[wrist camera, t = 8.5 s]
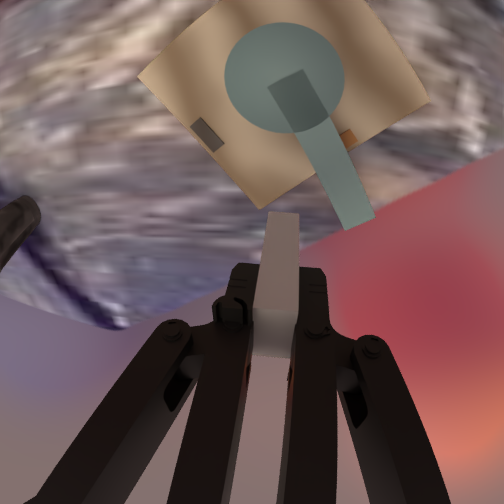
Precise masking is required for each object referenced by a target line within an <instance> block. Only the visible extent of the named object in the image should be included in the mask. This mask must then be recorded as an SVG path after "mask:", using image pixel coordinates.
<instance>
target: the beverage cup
mask: <svg viewBox="0 0 504 504" xmlns="http://www.w3.org/2000/svg"><path fill="white" fill-rule="evenodd" d="M40 219H41V214H40V210H39V208H38V206H37V204H36V203H35V201H34V200H33V199H31V198H30V197H28V196H22V197H20V198H19V199H17V200H14V201H13V202H11V203H10V204H8V205H7V206H5V207H4V208H2V209H1V210H0V272H1V270H2V269H3V267H4V266H5V265H6V263H7V262H8V261H9V260H10V258H11V257H12V256H13V255H14V253H15V252H16V251H17V250H18V248H19V247H20V246H21V245H22V243H23V242H24V241H25V240H26V239H27V237H28V236H29V235H30V234H31V233H32V231H33V230H34V228H35V227H36V226H37V225H38V224H39V222H40Z"/></svg>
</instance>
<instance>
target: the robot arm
mask: <svg viewBox="0 0 504 504" xmlns="http://www.w3.org/2000/svg"><path fill="white" fill-rule="evenodd" d="M212 312H213V320H214V321H212V322H210V323H208V324H205V325H200V326H193V327H190V326H189V325H188V323H186V322H184V321H183V320H179V319H171V320H167V321H164V322H162V323H161V324H160V325H159V326H158V327H157V328H156V329H155V330H154V332H153V333H152V334H151V336H150V337H149V338H148V340H147V341H146V342H145V344H144V345H143V346H142V348H141V349H140V350H139V352H138V353H137V354H136V356H135V357H134V358H133V360H132V361H131V362H130V364H129V365H128V366H127V368H126V369H125V370H124V372H123V373H122V374H121V376H120V377H119V378H118V380H117V381H116V382H115V384H114V385H113V387H112V388H111V389H110V391H109V392H108V393H107V395H106V396H105V398H104V399H103V400H102V402H101V403H100V405H99V406H98V407H97V409H96V410H95V411H94V413H93V414H92V416H91V417H90V418H89V420H88V421H87V422H86V424H85V425H84V427H83V428H82V430H81V431H80V432H79V434H78V435H77V437H76V438H75V440H74V441H73V442H72V444H71V445H70V447H69V448H68V449H67V451H66V452H65V454H64V455H63V457H62V458H61V460H60V461H59V462H58V464H57V465H56V467H55V468H54V470H53V471H52V473H51V474H50V476H49V477H48V479H47V480H46V482H45V483H44V484H43V486H42V487H41V489H40V491H39V492H38V494H37V495H36V496H35V497H33V498H32V499H30V500H28V501H27V502H25V503H24V504H124V503H125V501H126V500H127V498H128V496H129V495H130V493H131V491H132V490H133V488H134V486H135V485H136V483H137V482H138V480H139V478H140V476H141V475H142V473H143V472H144V470H145V469H146V467H147V465H148V463H149V462H150V460H151V459H152V457H153V455H154V453H155V452H156V450H157V449H158V447H159V445H160V444H161V442H162V440H163V439H164V437H165V435H166V434H167V432H168V430H169V429H170V427H171V425H172V424H173V422H174V420H175V418H176V417H177V415H178V413H179V412H180V410H181V408H182V407H183V405H184V403H185V402H186V400H187V398H188V396H189V395H190V393H191V391H192V389H193V388H194V386H195V384H196V383H197V386H196V390H195V394H194V398H193V401H192V405H191V409H190V413H189V416H188V420H187V425H186V428H185V432H184V436H183V440H182V444H181V448H180V452H179V456H178V460H177V463H176V467H175V472H174V475H173V480H172V484H171V488H170V492H169V496H168V500H167V504H229V501H230V495H231V489H232V483H233V477H234V471H235V465H236V459H237V453H238V447H239V441H240V435H241V429H242V422H243V416H244V410H245V403H246V397H247V390H248V384H249V378H250V371H251V358H252V355H257V356H267V357H278V358H279V357H280V358H290V367H289V372H288V378H287V381H288V388H287V401H286V414H285V425H284V436H283V448H282V457H281V467H280V476H279V485H278V494H277V502H276V504H336V489H337V391H338V394H339V398H340V401H341V404H342V407H343V411H344V414H345V417H346V420H347V424H348V427H349V430H350V434H351V437H352V441H353V444H354V447H355V451H356V454H357V458H358V461H359V465H360V469H361V472H362V476H363V479H364V483H365V487H366V490H367V494H368V497H369V502H370V504H451V502H450V499H449V496H448V493H447V490H446V487H445V484H444V481H443V478H442V475H441V472H440V469H439V467H438V463H437V460H436V458H435V455H434V452H433V450H432V447H431V444H430V442H429V439H428V437H427V434H426V431H425V429H424V426H423V424H422V421H421V419H420V416H419V414H418V412H417V409H416V407H415V404H414V402H413V400H412V397H411V395H410V393H409V390H408V388H407V386H406V384H405V381H404V379H403V377H402V374H401V372H400V370H399V368H398V366H397V363H396V361H395V359H394V357H393V355H392V353H391V350H390V348H389V346H388V345H387V343H386V342H385V341H384V340H383V339H381V338H379V337H378V336H374V335H364V336H361V337H359V338H358V340H354V339H350V338H347V337H345V336H342V335H340V334H339V333H337V332H336V331H335V330H334V329H333V327H332V326H331V324H330V320H329V306H328V294H327V283H326V276H325V274H324V273H323V271H322V270H321V269H320V268H309V267H299V214H297V213H284V212H271V211H269V213H268V219H267V225H266V231H265V238H264V244H263V250H262V256H261V262H260V264H249V263H238V264H237V265H236V266H235V267H234V268H233V269H232V272H231V275H230V280H229V283H228V287H227V290H226V294H225V296H222V297H219V298H218V299H217V300H216V301H215V302H214V303H213V305H212ZM197 381H198V382H197Z"/></svg>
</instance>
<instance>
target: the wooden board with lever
mask: <svg viewBox="0 0 504 504" xmlns="http://www.w3.org/2000/svg"><path fill="white" fill-rule="evenodd" d="M279 22H286V23H295V24H299V25H303V26H305V27H308V28H310V29H312V30H314V31H316V32H317V33H319V34H320V35H322V36H323V37H324V38H325V39H327V40H328V41H329V43H330V44H331V45H332V46H333V47H334V49H335V50H336V52H337V53H338V55H339V57H340V59H341V62H342V65H343V70H344V79H345V82H344V90H343V94H342V97H341V99H340V102H339V104H338V105H337V107H336V109H335V110H334V111H333V113H332V114H331V115H330V118H331V120H332V122H333V124H334V126H335V128H336V130H337V132H338V134H339V136H340V138H341V140H342V142H343V144H344V146H345V148H346V150H347V152H349V151H351V150H352V149H354V148H355V147H357V146H359V145H360V144H362V143H363V142H365V141H367V140H368V139H370V138H371V137H373V136H375V135H376V134H378V133H379V132H381V131H383V130H384V129H386V128H387V127H389V126H391V125H392V124H394V123H396V122H397V121H399V120H401V119H402V118H404V117H405V116H407V115H409V114H410V113H412V112H414V111H415V110H417V109H419V108H420V107H422V106H424V105H425V104H427V103H429V102H430V101H431V100H430V98H429V96H428V94H427V92H426V90H425V89H424V87H423V85H422V83H421V82H420V80H419V78H418V76H417V75H416V73H415V71H414V70H413V68H412V66H411V65H410V63H409V62H408V60H407V58H406V57H405V55H404V54H403V52H402V51H401V49H400V48H399V46H398V45H397V43H396V42H395V40H394V39H393V37H392V36H391V35H390V33H389V32H388V30H387V29H386V28H385V26H384V25H383V24H382V22H381V21H380V20H379V18H378V17H377V16H376V14H375V13H374V12H373V11H372V9H371V8H370V7H369V6H368V4H367V3H366V2H365V1H364V0H221V1H219V2H218V3H217V4H215V5H214V6H213V7H212V8H210V9H209V10H208V11H207V12H205V13H204V14H203V15H202V16H201V17H199V18H198V19H197V20H196V21H195V22H193V23H192V24H191V25H190V26H189V27H188V28H187V29H185V30H184V31H183V32H182V33H181V34H180V35H179V36H178V37H177V38H175V39H174V40H173V41H172V42H171V43H170V44H169V45H168V46H167V47H166V48H165V49H164V50H163V51H162V52H161V53H160V54H159V55H158V56H157V57H156V58H155V59H154V60H153V61H152V62H151V63H150V64H149V65H148V66H147V67H146V68H145V69H144V70H143V71H142V72H141V73H140V74H139V75H138V76H137V77H138V78H139V79H140V80H141V81H142V82H143V83H144V84H145V85H146V86H147V88H148V89H149V90H150V91H151V92H152V93H153V94H154V95H155V96H156V97H157V98H158V99H159V100H160V101H161V102H162V103H163V104H164V105H165V106H166V108H167V109H168V110H169V111H170V112H171V113H172V114H173V115H174V116H175V117H176V118H177V119H178V120H179V121H180V122H181V124H182V125H183V126H184V127H185V128H186V129H187V130H188V131H189V132H190V133H191V134H192V135H193V137H194V138H195V139H196V140H197V141H198V142H199V143H200V144H201V145H202V146H203V147H204V149H205V150H206V151H207V152H208V153H209V154H210V155H211V156H212V157H213V158H214V160H215V161H216V162H217V163H218V164H219V165H220V166H221V167H222V168H223V170H224V171H225V172H226V173H227V174H228V175H229V176H230V177H231V178H232V180H233V181H234V182H235V183H236V184H237V185H238V186H239V187H240V189H241V190H242V191H243V192H244V193H245V194H246V195H247V196H248V198H249V199H250V200H251V201H252V202H253V203H254V204H255V206H256V207H257V208H258V209H259V210H260V209H262V208H263V207H265V206H266V205H268V204H269V203H271V202H272V201H274V200H275V199H277V198H278V197H280V196H281V195H283V194H284V193H286V192H287V191H289V190H290V189H292V188H293V187H295V186H296V185H298V184H299V183H301V182H303V181H304V180H306V179H307V178H309V177H310V176H312V175H313V174H315V173H316V172H315V170H314V168H313V166H312V164H311V163H310V161H309V159H308V157H307V155H306V153H305V152H304V150H303V148H302V146H301V144H300V143H299V141H298V139H297V137H296V135H295V134H294V133H276V132H271V131H267V130H264V129H261V128H259V127H257V126H255V125H253V124H252V123H250V122H249V121H247V120H246V119H245V118H244V117H243V116H242V115H241V114H240V113H239V112H238V111H237V110H236V109H235V107H234V106H233V104H232V103H231V101H230V99H229V96H228V94H227V91H226V87H225V80H224V72H225V65H226V62H227V59H228V56H229V54H230V52H231V50H232V49H233V47H234V46H235V44H236V43H237V42H238V41H239V40H240V39H241V38H242V37H243V36H244V35H246V34H247V33H248V32H250V31H252V30H253V29H255V28H258V27H260V26H263V25H266V24H271V23H279Z"/></svg>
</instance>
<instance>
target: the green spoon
mask: <svg viewBox="0 0 504 504" xmlns="http://www.w3.org/2000/svg"><path fill="white" fill-rule="evenodd" d="M224 80H225V87H226V91H227V94H228V96H229V99H230V101H231V103H232V104H233V106H234V107H235V109H236V110H237V111H238V112H239V113H240V114H241V115H242V116H243V117H244V118H245V119H246V120H247V121H249V122H250V123H252V124H253V125H255V126H257V127H259V128H261V129H264V130H267V131H271V132H276V133H294V134H295V135H296V137H297V139H298V141H299V143H300V144H301V146H302V148H303V150H304V152H305V153H306V155H307V157H308V159H309V161H310V163H311V164H312V166H313V168H314V170H315V172H316V174H317V176H318V178H319V179H320V181H321V183H322V185H323V187H324V189H325V191H326V193H327V195H328V197H329V199H330V201H331V203H332V205H333V207H334V209H335V211H336V213H337V215H338V217H339V219H340V221H341V223H342V226H343V228H344V230H348V229H350V228H352V227H355V226H357V225H360V224H362V223H364V222H367V221H369V220H371V219H374V218H376V217H375V214H374V212H373V209H372V207H371V204H370V202H369V200H368V197H367V195H366V192H365V190H364V188H363V185H362V183H361V181H360V179H359V176H358V174H357V172H356V170H355V167H354V165H353V163H352V161H351V159H350V157H349V155H348V152H347V150H346V148H345V146H344V144H343V142H342V140H341V138H340V136H339V134H338V132H337V130H336V128H335V126H334V124H333V122H332V120H331V118H330V115H331V114H332V113H333V111H334V110H335V109H336V107H337V105H338V104H339V102H340V99H341V97H342V94H343V90H344V82H345V79H344V70H343V65H342V62H341V59H340V57H339V55H338V53H337V52H336V50H335V49H334V47H333V46H332V45H331V44H330V43H329V41H328V40H327V39H325V38H324V37H323V36H322V35H320V34H319V33H317V32H316V31H314V30H312V29H310V28H308V27H305V26H303V25H299V24H295V23H286V22H279V23H271V24H266V25H263V26H260V27H258V28H255V29H253V30H252V31H250V32H248V33H247V34H246V35H244V36H243V37H242V38H241V39H240V40H239V41H238V42H237V43H236V44H235V46H234V47H233V49H232V50H231V52H230V54H229V56H228V59H227V62H226V65H225V72H224Z"/></svg>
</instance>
